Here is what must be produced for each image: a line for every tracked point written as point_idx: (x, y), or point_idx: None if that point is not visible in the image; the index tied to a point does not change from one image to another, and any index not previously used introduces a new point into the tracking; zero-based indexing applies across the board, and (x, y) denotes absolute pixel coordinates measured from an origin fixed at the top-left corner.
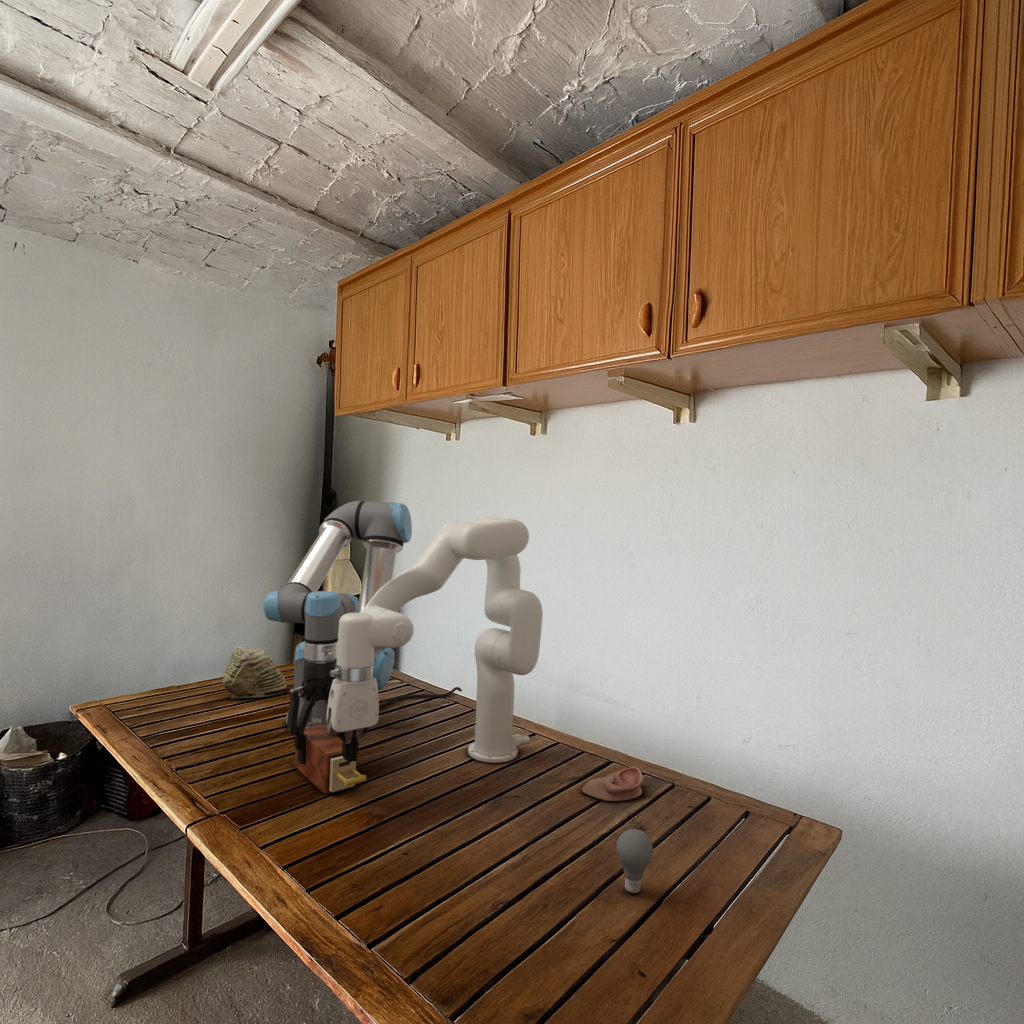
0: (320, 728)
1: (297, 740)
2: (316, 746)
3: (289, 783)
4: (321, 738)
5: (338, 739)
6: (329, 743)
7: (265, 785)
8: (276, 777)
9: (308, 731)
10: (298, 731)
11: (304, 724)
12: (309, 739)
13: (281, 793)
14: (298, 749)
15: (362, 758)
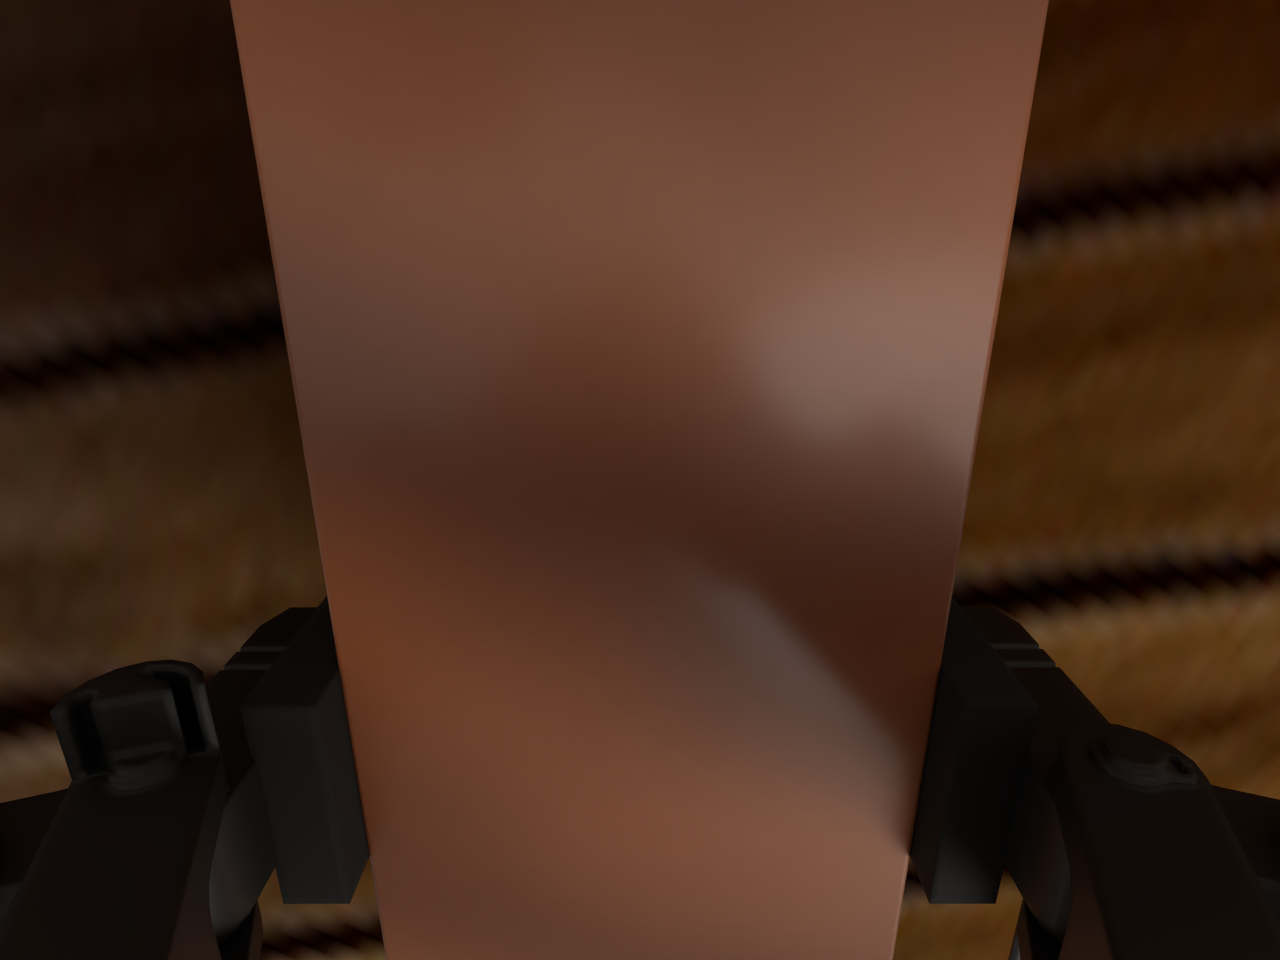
0: (505, 927)
1: (1079, 695)
2: (1029, 106)
3: (994, 363)
4: (702, 495)
5: (384, 208)
6: (688, 73)
7: (1186, 452)
8: (1015, 556)
9: (745, 910)
10: (1210, 817)
11: (1186, 947)
12: (934, 575)
13: (1185, 178)
14: (972, 606)
15: (118, 501)
